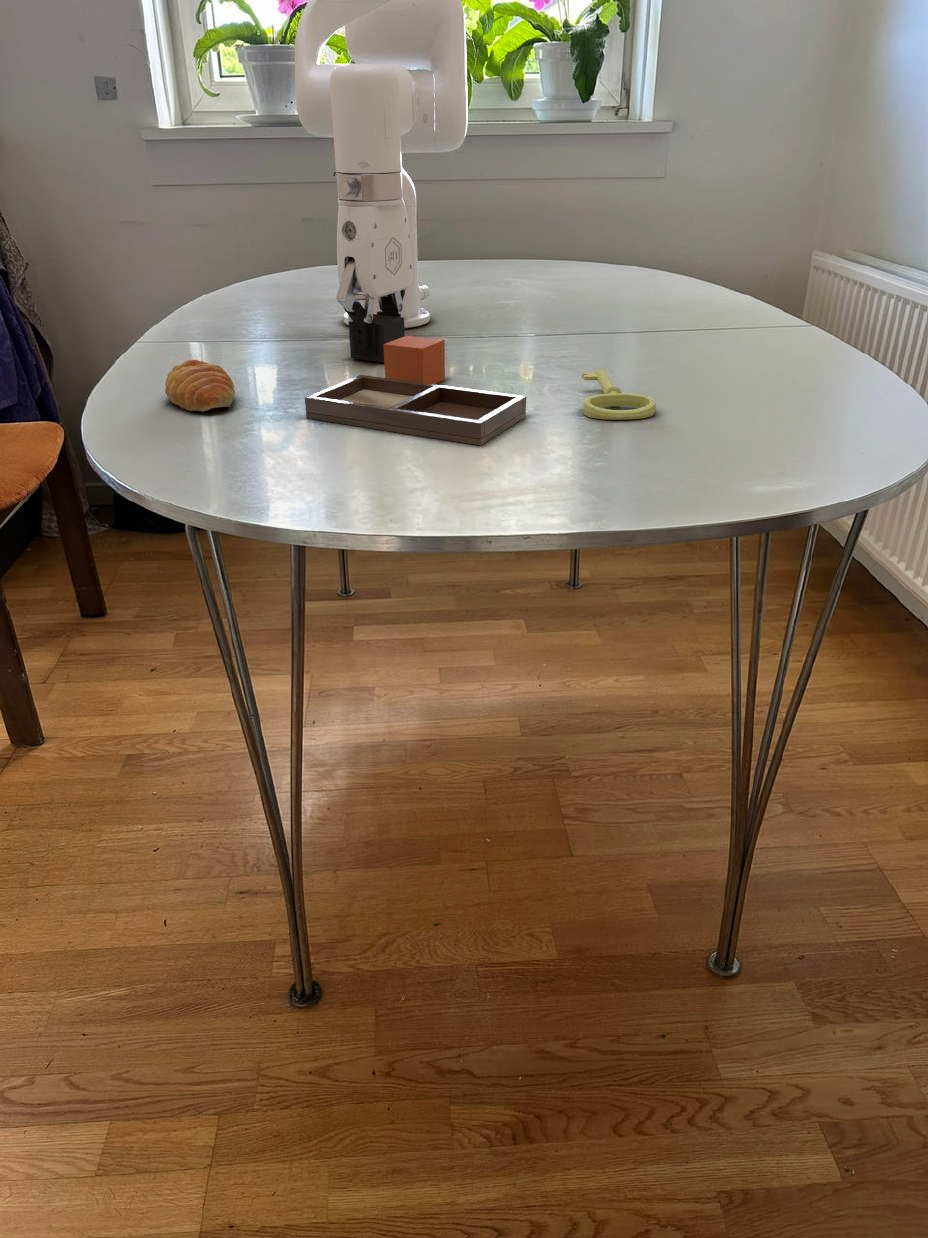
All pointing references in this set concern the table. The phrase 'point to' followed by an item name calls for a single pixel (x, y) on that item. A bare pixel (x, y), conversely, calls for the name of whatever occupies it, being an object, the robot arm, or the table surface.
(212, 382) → the pastry
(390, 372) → the orange block
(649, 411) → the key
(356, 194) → the robot arm
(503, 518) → the table surface
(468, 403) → the brown divided tray
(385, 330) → the black block
